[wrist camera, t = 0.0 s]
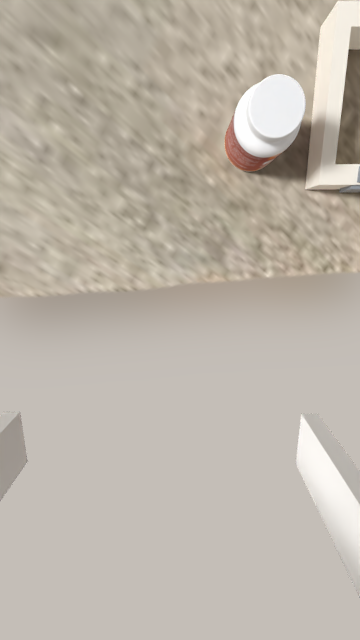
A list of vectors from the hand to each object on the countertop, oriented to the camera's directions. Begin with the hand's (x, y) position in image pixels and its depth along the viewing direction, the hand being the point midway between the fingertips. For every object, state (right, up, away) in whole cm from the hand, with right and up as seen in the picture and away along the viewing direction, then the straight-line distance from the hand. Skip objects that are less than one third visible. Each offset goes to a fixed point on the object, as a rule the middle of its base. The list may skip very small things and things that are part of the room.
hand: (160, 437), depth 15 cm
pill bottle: (+9, +26, +22) cm, 35 cm away
